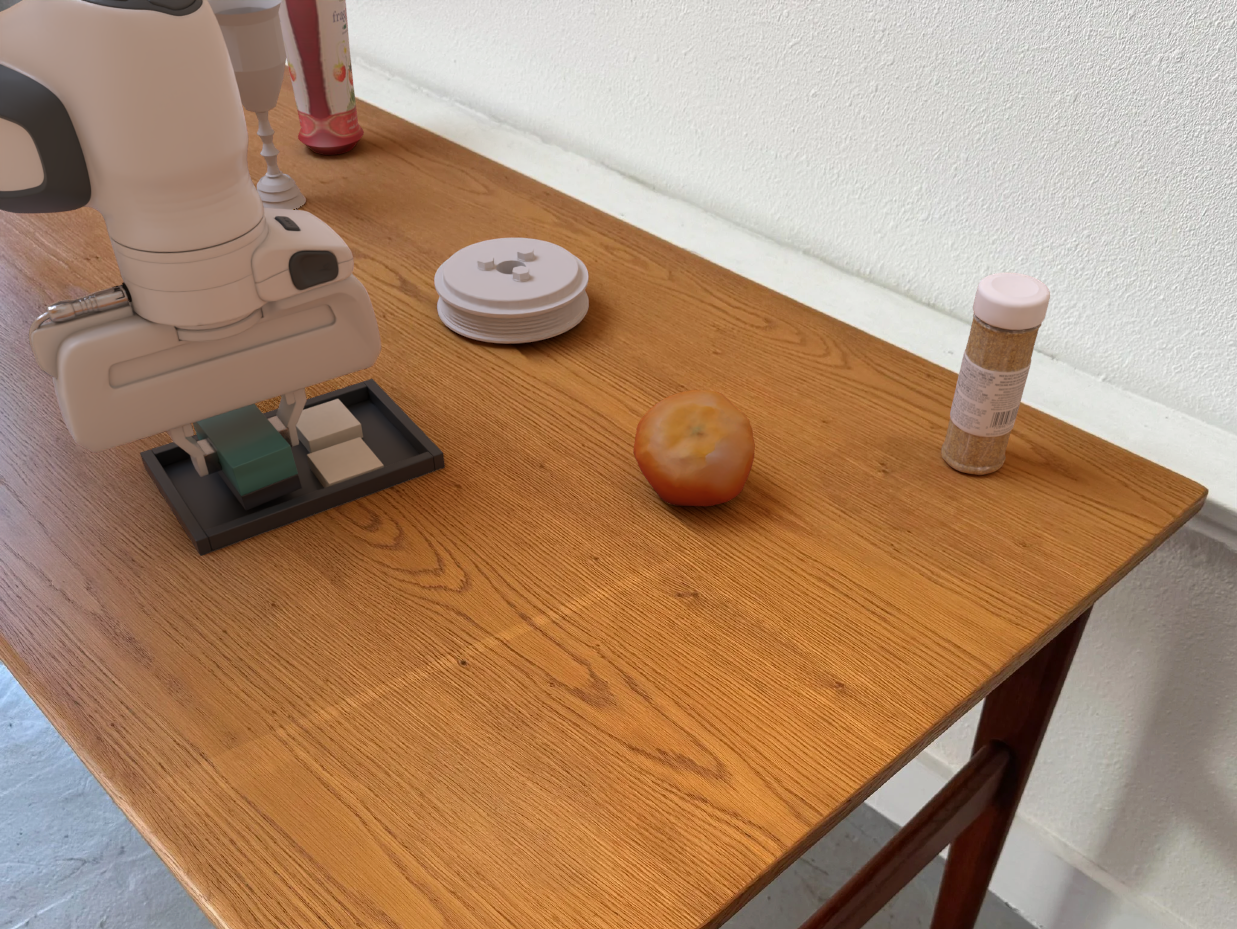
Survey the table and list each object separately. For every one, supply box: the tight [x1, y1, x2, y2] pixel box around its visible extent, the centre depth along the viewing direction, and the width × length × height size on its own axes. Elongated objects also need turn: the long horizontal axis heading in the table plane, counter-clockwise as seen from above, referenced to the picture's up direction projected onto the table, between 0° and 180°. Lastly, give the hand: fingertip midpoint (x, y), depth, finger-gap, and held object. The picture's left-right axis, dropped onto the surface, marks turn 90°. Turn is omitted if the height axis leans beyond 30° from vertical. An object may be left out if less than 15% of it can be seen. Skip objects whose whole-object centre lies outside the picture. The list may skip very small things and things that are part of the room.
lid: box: [433, 237, 590, 344], centre depth 98 cm, size 13×13×5 cm
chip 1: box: [295, 399, 363, 453], centre depth 85 cm, size 4×4×1 cm
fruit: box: [633, 388, 756, 507], centre depth 80 cm, size 8×8×8 cm
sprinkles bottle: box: [940, 271, 1051, 476], centre depth 80 cm, size 5×5×14 cm
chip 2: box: [307, 437, 384, 488], centre depth 82 cm, size 4×4×1 cm
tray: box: [139, 378, 446, 557], centre depth 82 cm, size 18×12×2 cm, turn 124°
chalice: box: [207, 0, 307, 210], centre depth 109 cm, size 7×7×18 cm
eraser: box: [192, 403, 302, 510], centre depth 79 cm, size 8×4×4 cm, turn 35°
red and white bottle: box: [278, 0, 365, 156], centre depth 116 cm, size 7×7×28 cm
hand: (247, 456), depth 80 cm, fingers closed on eraser, 4 cm apart
